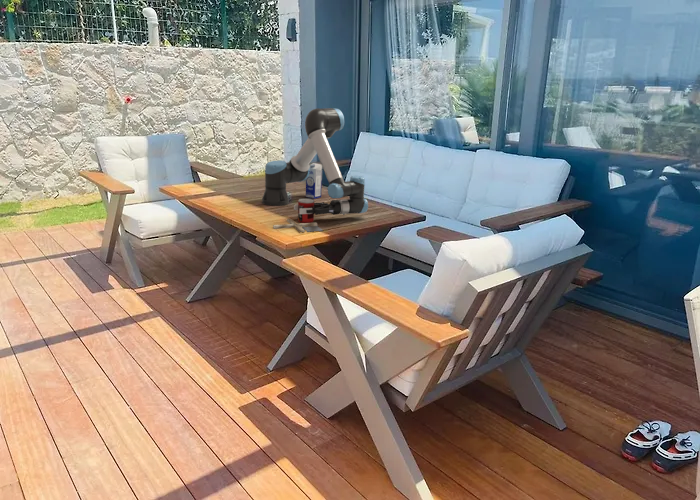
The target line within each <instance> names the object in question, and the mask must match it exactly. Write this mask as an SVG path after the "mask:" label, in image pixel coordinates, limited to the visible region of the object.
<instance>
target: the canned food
mask: <svg viewBox="0 0 700 500" xmlns="http://www.w3.org/2000/svg"><path fill="white" fill-rule="evenodd" d="M314 203H315V199H313V198H299V199H298V201H297V204H298V210H297V215H298V216H297V221H298V222H299V223H300V222H301V223H314V221H315V220H314V219H315V214H313V213H312V214H299V209H302V208H312V210H313V207H314Z"/></svg>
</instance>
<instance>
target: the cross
mask: <svg viewBox="0 0 700 500" xmlns="http://www.w3.org/2000/svg"><path fill="white" fill-rule="evenodd" d="M286 222H287V224H274V225H272V228H273V229H274V230H275V229H276V230H277V229H289V228H290V229H292V228H291V227H293V228H294V227H295V228H296V229H295V228H294V229H295V230H296V231H298V232H299V231H300V232H305V233H315V232H314V231H319V232H324V230H323V229H322V228H321V227H320V226H318V222H312V223H300V222H299V223H297V222H296V221H294V219H292V218H286ZM305 226H307V227H305ZM305 230H306V231H307V232H306V231H305ZM300 232H299V233H300Z"/></svg>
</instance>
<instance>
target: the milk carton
mask: <svg viewBox="0 0 700 500" xmlns="http://www.w3.org/2000/svg"><path fill="white" fill-rule="evenodd" d="M309 169H310V171H309V176H308V178H307V179H306V180H305V197H306V198H307V199H312V200H316V199H319V198H322V184H323V183H322V181H323V167H322V165H321V163H315V162H313V163H311V164H309Z"/></svg>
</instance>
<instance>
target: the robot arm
mask: <svg viewBox="0 0 700 500" xmlns="http://www.w3.org/2000/svg"><path fill="white" fill-rule="evenodd" d="M344 126H345V116H344V114H343V112H342V111H341V110H340V109H339V108H334V107H332V108H331V107H330V108H328V107H327V108H324V107H323V108H313V109H311V110H310V111H309V112H308V114H307V115H306V117H305V121H304V127H305V129H304V130H305V133H306V136H307V139H306V141H305V142H304V143H303V145H302V146H301V148H300V149H299V150H298V153H297V154H296V155H293V156H292V157H291V158H290V160H289V161H288V162H286V160H272V161H269V162H267V163H266V164H265V170H264V174H265V175H264V181H265V182H264V187H265V188H264V192H263V196H262V198H261V203H262V204H263V205H265V206H272V207H275V206H276V207H277V206H286V205H288V204H289V203H290V198H289V195H288V192H287V184H292V183H301V182H304V181H306V179H307V178H308V176H309V171H310V169H309V165H311V164H310V163H311V162H312V161H313V159H314V158H315V157H316V155H317V157H318V160H319V161H320V164H321V165H322V171H323V173H324V174H325V177H326V179H327V181H328V184H329V185H328V186H327V193H328V194H327V195H328V196H329V197H330V198H331V199H332V200H330V202H329V203H327V202H314V207H313V210H312V208H302V209H299V214H312V213H313V214H314V216H315V215H316V216H317V215H327V214H331V215H333V216H334V215H342V216H345V215H347V214H349V215H350V214H363V213H367V212H368V210H369V201H368V200H367V198H365V197H364V196H365V186H366V182H365V177H364V176H361V175H351V176H350V178H349V180H347V181H345V180H344V178H343V175H342V172H341V170H340V168H339V166H338V165H339V164H338V162H337V160H336V157H335V155H334V153H333V151H332V148H331V145H330V143H329V140H328V139H330V138H332V137H333V136H334V134H335V133H336V132H339V131H342V129H344ZM346 197H349V198H348V199H342V198H346ZM293 210H294V211H298V203H297V204H294V206H293Z"/></svg>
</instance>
